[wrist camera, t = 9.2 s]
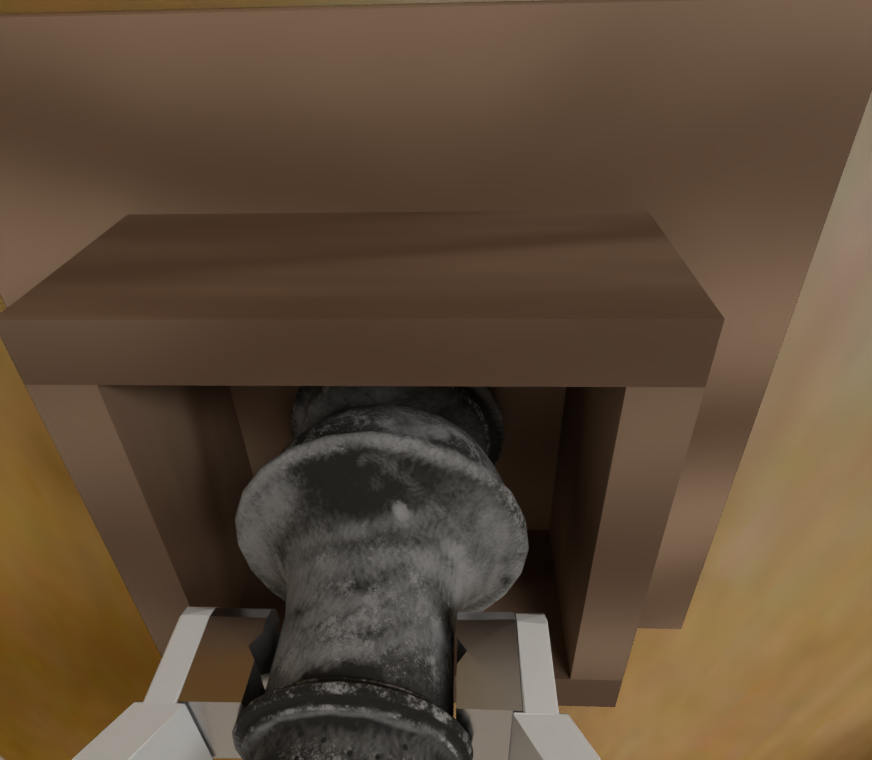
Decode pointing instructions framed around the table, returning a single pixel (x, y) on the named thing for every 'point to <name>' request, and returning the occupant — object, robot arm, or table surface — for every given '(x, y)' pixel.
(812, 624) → the table surface
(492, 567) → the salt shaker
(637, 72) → the caddy
